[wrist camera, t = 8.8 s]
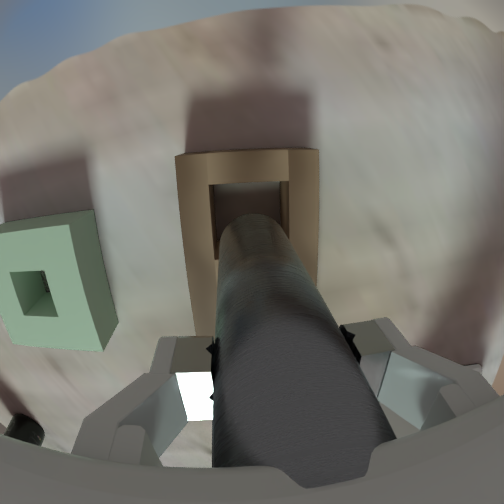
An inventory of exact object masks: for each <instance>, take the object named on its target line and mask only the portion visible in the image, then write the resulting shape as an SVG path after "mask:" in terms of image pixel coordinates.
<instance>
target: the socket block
mask: <svg viewBox="0 0 504 504" xmlns="http://www.w3.org/2000/svg"><path fill="white" fill-rule="evenodd" d="M40 271H45V275H46V279H47V282H48V285H49V289H50V292H46V290H45V287H44V283H43V280H42V276H41V273H40ZM0 314H1V316H2V319H3V321H4V324H5V326H6V329H7V331H8V333H9V336H10V338H11V340H12V342H13V344H19V345H27V346H36V347H46V348H57V349H69V350H83V351H102V352H103V351H104V349H105V347H106V345H107V344H108V342H109V340H110V338H111V336H112V334H113V332H114V330H115V328H116V326H117V325H118V319H117V316H116V312H115V308H114V305H113V301H112V297H111V293H110V289H109V285H108V280H107V276H106V272H105V267H104V263H103V258H102V253H101V248H100V243H99V238H98V232H97V227H96V221H95V215H94V209H93V210H85V211H77V212H70V213H62V214H55V215H48V216H42V217H35V218H29V219H22V220H16V221H10V222H5V223H3V224H1V225H0Z"/></svg>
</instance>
